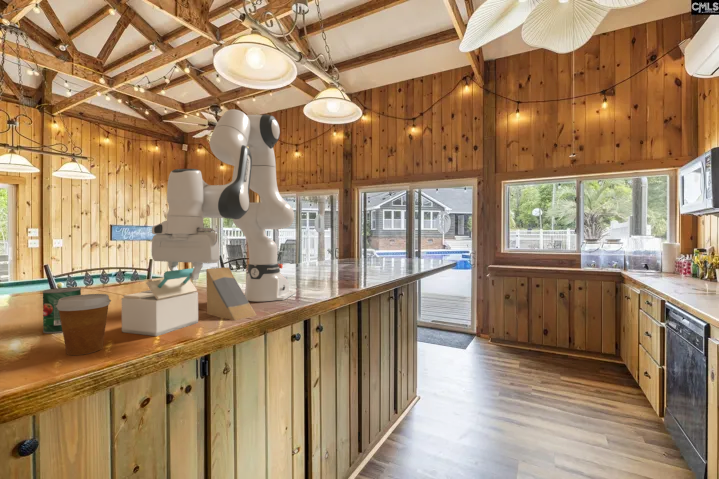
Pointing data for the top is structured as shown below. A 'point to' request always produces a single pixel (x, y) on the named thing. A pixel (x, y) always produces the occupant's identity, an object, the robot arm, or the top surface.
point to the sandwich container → (226, 296)
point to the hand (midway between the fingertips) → (185, 279)
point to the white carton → (159, 314)
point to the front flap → (172, 284)
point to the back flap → (140, 295)
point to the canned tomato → (50, 310)
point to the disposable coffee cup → (83, 322)
